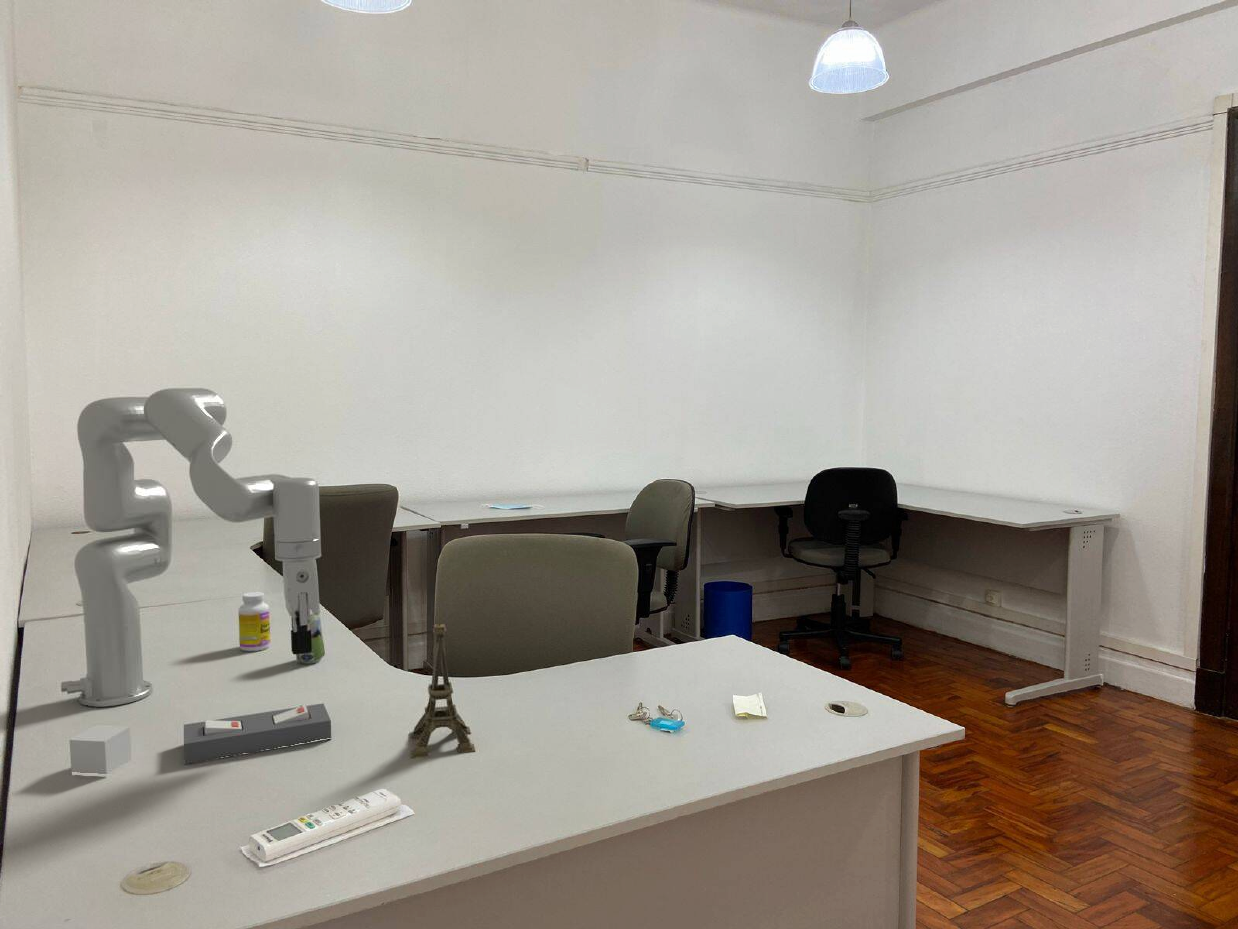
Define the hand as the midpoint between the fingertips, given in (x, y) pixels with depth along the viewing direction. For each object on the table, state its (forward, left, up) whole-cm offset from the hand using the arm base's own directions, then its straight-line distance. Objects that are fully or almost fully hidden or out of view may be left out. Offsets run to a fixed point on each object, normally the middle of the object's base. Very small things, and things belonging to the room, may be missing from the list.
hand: (301, 652), depth 154 cm
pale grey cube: (-31, 0, -15) cm, 35 cm away
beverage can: (+6, +42, -15) cm, 45 cm away
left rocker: (-13, 0, -12) cm, 17 cm away
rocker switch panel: (-8, +4, -15) cm, 17 cm away
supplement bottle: (-4, +58, -15) cm, 60 cm away
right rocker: (-2, 0, -12) cm, 12 cm away
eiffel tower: (+21, -14, -15) cm, 29 cm away
